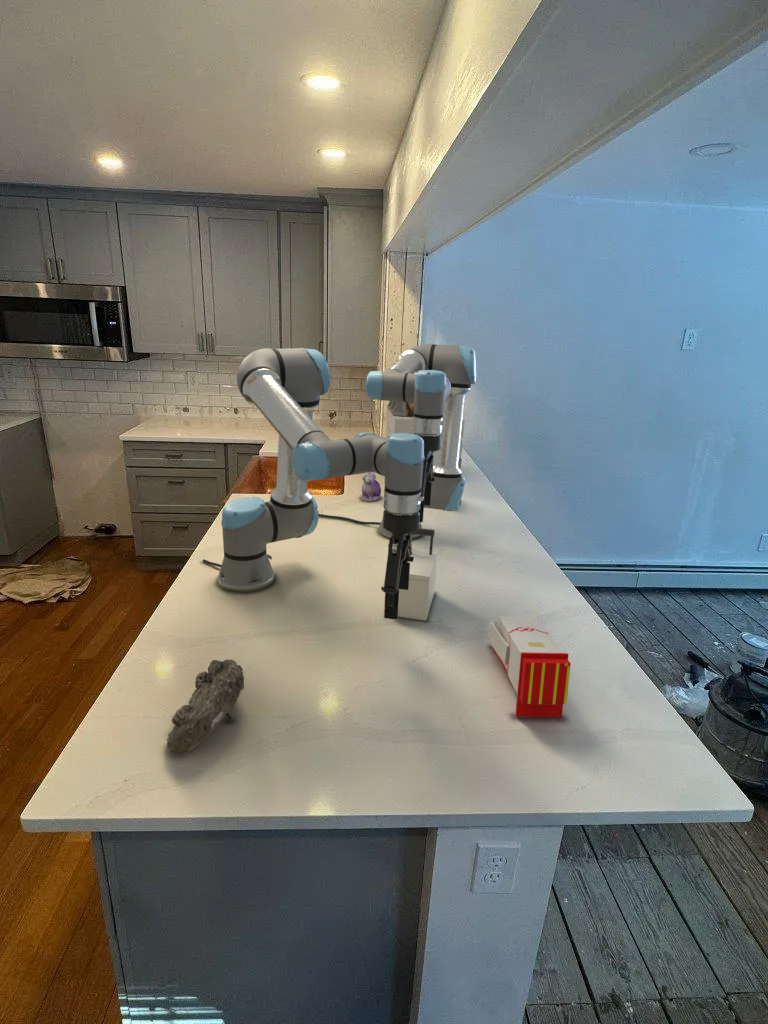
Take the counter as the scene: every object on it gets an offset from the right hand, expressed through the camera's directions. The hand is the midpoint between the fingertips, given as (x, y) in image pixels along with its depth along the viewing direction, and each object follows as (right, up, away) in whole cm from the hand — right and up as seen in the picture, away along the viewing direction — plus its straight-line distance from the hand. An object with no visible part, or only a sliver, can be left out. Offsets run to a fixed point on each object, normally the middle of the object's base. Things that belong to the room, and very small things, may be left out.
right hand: (421, 512), depth 150 cm
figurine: (-15, +6, +85) cm, 87 cm away
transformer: (+7, +19, +125) cm, 126 cm away
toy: (+20, -36, -26) cm, 48 cm away
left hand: (-7, -19, -27) cm, 34 cm away
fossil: (-43, -39, -42) cm, 72 cm away
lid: (-2, -14, -1) cm, 14 cm away
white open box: (-2, -25, +3) cm, 25 cm away
